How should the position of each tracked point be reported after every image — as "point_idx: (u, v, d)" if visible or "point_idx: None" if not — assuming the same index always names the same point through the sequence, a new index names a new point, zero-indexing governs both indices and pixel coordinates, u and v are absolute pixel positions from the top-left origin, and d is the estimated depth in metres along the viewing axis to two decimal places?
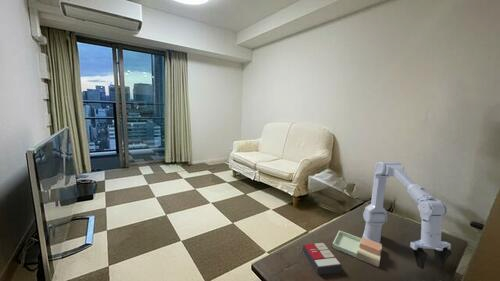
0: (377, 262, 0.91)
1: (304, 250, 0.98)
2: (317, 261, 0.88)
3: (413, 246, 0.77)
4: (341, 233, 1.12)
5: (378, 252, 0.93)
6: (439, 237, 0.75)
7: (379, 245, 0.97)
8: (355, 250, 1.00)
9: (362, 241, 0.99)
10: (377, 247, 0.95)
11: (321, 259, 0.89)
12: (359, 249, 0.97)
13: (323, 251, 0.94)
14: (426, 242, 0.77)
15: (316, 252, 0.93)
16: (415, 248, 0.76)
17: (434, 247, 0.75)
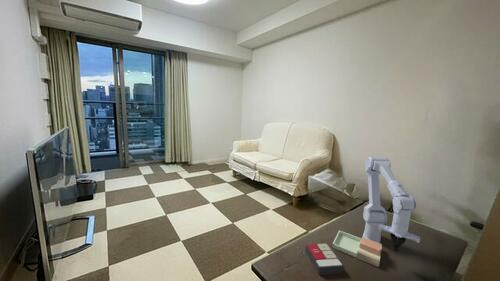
0: (377, 262, 0.91)
1: (306, 250, 0.98)
2: (318, 261, 0.88)
3: (379, 227, 0.94)
4: (341, 233, 1.12)
5: (378, 252, 0.93)
6: (401, 227, 0.87)
7: (379, 245, 0.97)
8: (355, 250, 1.00)
9: (362, 241, 0.99)
10: (377, 247, 0.95)
11: (323, 259, 0.89)
12: (359, 249, 0.97)
13: (325, 252, 0.94)
14: (391, 228, 0.91)
15: (318, 252, 0.93)
16: (379, 229, 0.94)
17: (395, 233, 0.89)
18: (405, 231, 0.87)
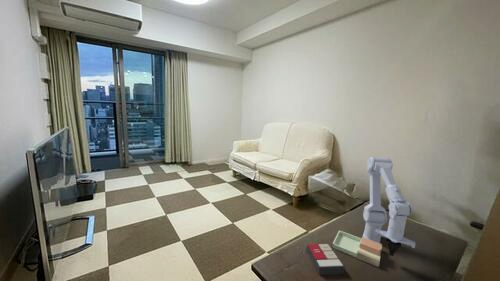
0: (377, 262, 0.91)
1: (308, 250, 0.98)
2: (319, 261, 0.88)
3: (375, 232, 0.95)
4: (341, 233, 1.12)
5: (378, 252, 0.93)
6: (397, 232, 0.88)
7: (379, 245, 0.97)
8: (355, 250, 1.00)
9: (362, 241, 0.99)
10: (377, 247, 0.95)
11: (323, 259, 0.89)
12: (359, 249, 0.97)
13: (326, 252, 0.94)
14: (387, 233, 0.92)
15: (319, 252, 0.93)
16: (375, 234, 0.95)
17: (390, 238, 0.90)
18: (401, 236, 0.88)
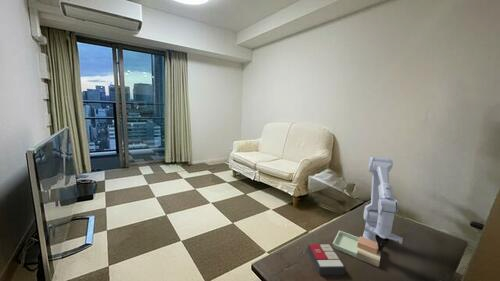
0: (377, 262, 0.91)
1: (309, 250, 0.98)
2: (320, 261, 0.88)
3: None
4: (341, 233, 1.12)
5: (375, 251, 0.94)
6: (385, 228, 0.91)
7: (376, 244, 0.97)
8: (355, 250, 1.00)
9: (359, 240, 1.00)
10: (375, 246, 0.96)
11: (324, 260, 0.89)
12: (359, 249, 0.97)
13: (328, 252, 0.94)
14: (376, 229, 0.95)
15: (320, 253, 0.93)
16: (365, 230, 0.97)
17: (379, 234, 0.93)
18: (388, 232, 0.91)
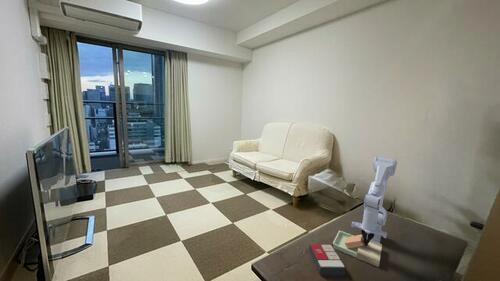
0: (377, 262, 0.91)
1: (310, 250, 0.98)
2: (320, 261, 0.88)
3: None
4: (341, 233, 1.12)
5: (360, 243, 0.97)
6: (370, 224, 0.94)
7: (360, 236, 1.01)
8: (355, 250, 1.00)
9: (346, 240, 1.03)
10: (359, 239, 0.99)
11: (325, 260, 0.89)
12: (359, 249, 0.97)
13: (329, 253, 0.93)
14: (362, 225, 0.98)
15: (321, 253, 0.93)
16: (351, 225, 1.01)
17: (364, 229, 0.96)
18: (373, 227, 0.94)
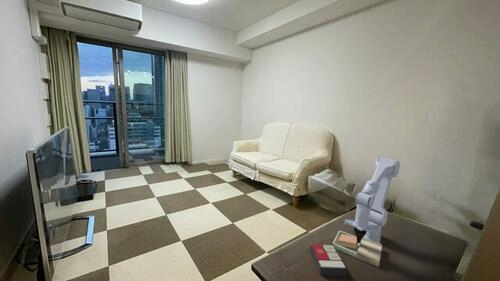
0: (377, 262, 0.91)
1: (311, 250, 0.98)
2: (321, 261, 0.88)
3: None
4: (341, 233, 1.12)
5: (355, 245, 0.99)
6: (362, 221, 0.96)
7: (356, 238, 1.02)
8: (355, 250, 1.00)
9: (340, 238, 1.05)
10: (354, 241, 1.01)
11: (326, 260, 0.89)
12: (359, 249, 0.97)
13: (330, 253, 0.93)
14: (355, 222, 1.00)
15: (322, 253, 0.93)
16: (345, 223, 1.03)
17: (357, 227, 0.98)
18: (366, 225, 0.96)
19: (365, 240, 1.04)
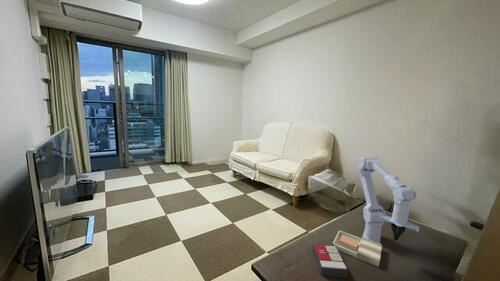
0: (377, 262, 0.91)
1: (313, 250, 0.98)
2: (322, 262, 0.88)
3: (380, 217, 0.98)
4: (341, 233, 1.12)
5: (355, 248, 0.99)
6: (401, 217, 0.91)
7: (357, 242, 1.02)
8: None
9: (341, 238, 1.05)
10: (355, 244, 1.01)
11: (327, 261, 0.89)
12: (359, 249, 0.97)
13: (332, 254, 0.93)
14: (392, 218, 0.94)
15: (324, 253, 0.93)
16: (380, 219, 0.97)
17: (395, 223, 0.92)
18: (405, 221, 0.91)
19: (365, 240, 1.04)
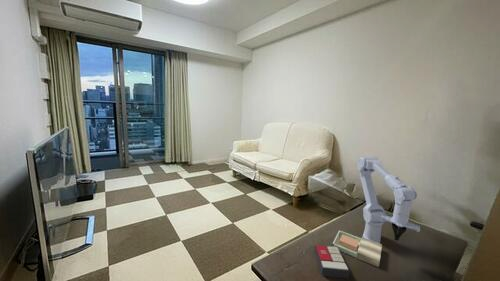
0: (377, 262, 0.91)
1: (315, 250, 0.98)
2: (323, 262, 0.88)
3: (380, 218, 0.98)
4: (341, 233, 1.12)
5: (355, 248, 0.99)
6: (402, 217, 0.91)
7: (357, 242, 1.02)
8: None
9: (341, 238, 1.05)
10: (355, 244, 1.01)
11: (328, 261, 0.88)
12: (359, 249, 0.97)
13: (334, 254, 0.92)
14: (393, 218, 0.94)
15: (325, 254, 0.92)
16: (381, 219, 0.97)
17: (396, 223, 0.92)
18: (406, 221, 0.91)
19: (365, 240, 1.04)
